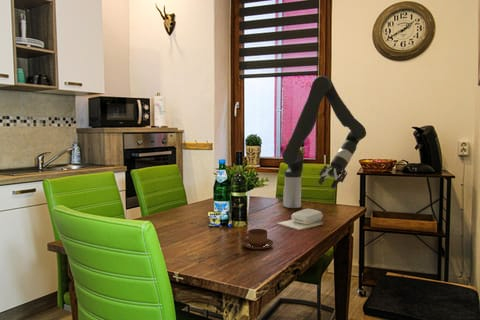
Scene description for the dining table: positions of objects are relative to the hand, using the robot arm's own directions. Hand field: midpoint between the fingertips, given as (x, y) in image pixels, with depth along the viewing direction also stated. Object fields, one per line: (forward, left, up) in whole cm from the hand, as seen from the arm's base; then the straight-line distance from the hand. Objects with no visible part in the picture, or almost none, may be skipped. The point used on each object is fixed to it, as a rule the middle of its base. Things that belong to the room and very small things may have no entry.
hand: (325, 185), depth 201 cm
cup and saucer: (+15, -58, -17) cm, 62 cm away
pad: (+1, -20, -16) cm, 26 cm away
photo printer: (+1, -10, -12) cm, 16 cm away
